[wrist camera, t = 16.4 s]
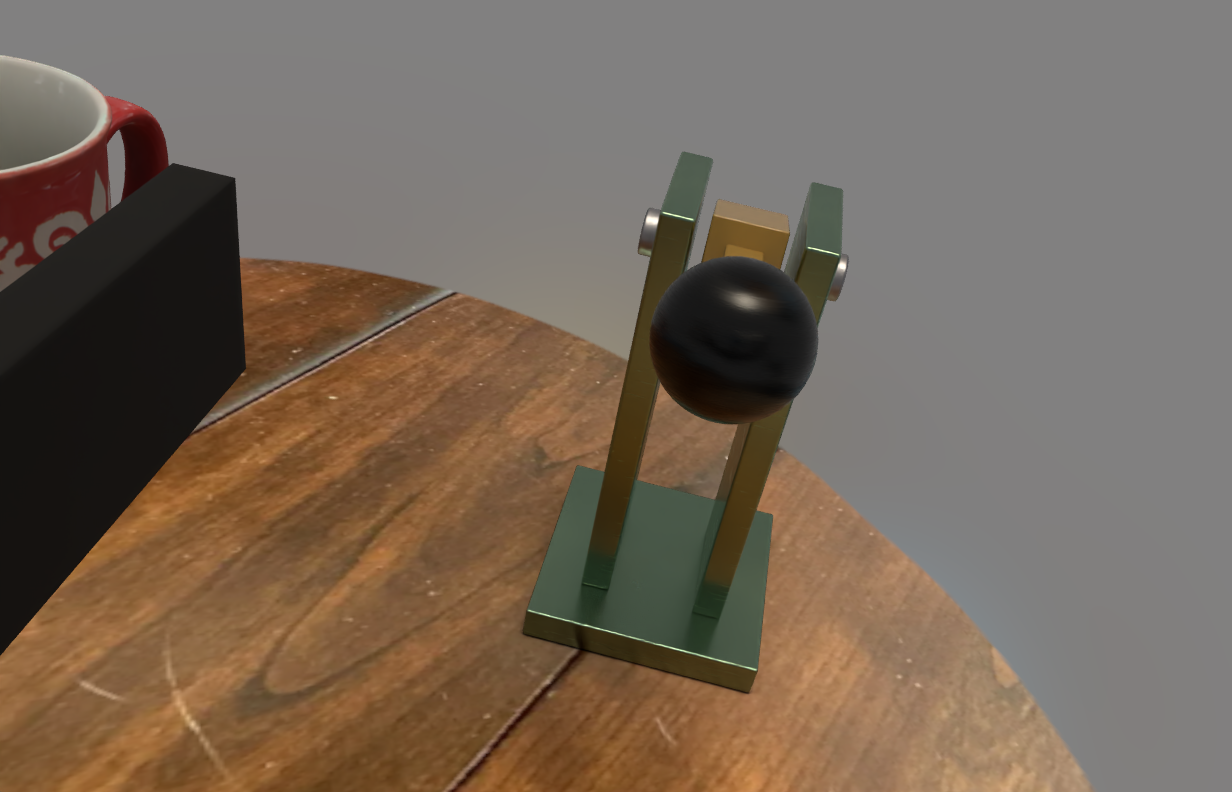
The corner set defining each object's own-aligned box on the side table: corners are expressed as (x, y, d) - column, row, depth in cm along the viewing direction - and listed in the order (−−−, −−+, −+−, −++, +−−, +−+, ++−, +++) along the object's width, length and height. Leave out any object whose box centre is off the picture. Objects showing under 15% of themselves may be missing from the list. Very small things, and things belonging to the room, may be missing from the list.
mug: (4, 580, 35) (-90, 211, 27) (-190, 470, 37) (-329, 101, 29) (265, 393, 44) (254, 82, 36) (99, 316, 47) (54, 6, 39)
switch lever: (794, 468, 22) (844, 302, 20) (623, 425, 22) (662, 257, 21) (784, 314, 33) (816, 201, 32) (672, 287, 33) (700, 173, 32)
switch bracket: (749, 693, 36) (899, 302, 27) (522, 634, 37) (592, 228, 27) (765, 535, 43) (892, 175, 33) (572, 486, 43) (643, 117, 34)
